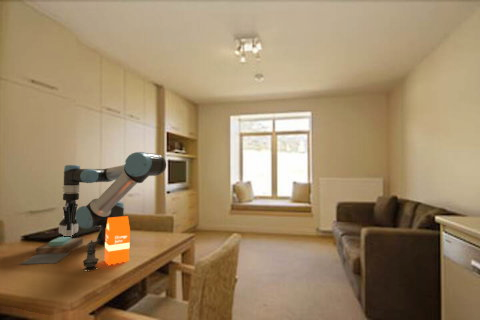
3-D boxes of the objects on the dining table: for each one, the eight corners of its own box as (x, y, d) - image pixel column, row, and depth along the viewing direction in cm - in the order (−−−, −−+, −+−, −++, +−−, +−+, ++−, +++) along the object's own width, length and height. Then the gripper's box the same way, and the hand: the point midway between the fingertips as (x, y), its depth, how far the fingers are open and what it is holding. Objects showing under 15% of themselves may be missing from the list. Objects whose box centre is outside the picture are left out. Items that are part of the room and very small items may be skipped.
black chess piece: (87, 272, 110) (88, 242, 110) (79, 269, 113) (80, 240, 113) (101, 268, 115) (102, 239, 115) (93, 265, 118) (94, 237, 118)
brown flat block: (82, 243, 151) (82, 238, 151) (67, 253, 133) (68, 247, 134) (54, 244, 149) (54, 238, 149) (36, 254, 131) (36, 248, 131)
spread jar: (72, 232, 176) (72, 214, 176) (84, 234, 171) (84, 216, 172) (52, 236, 165) (53, 217, 165) (65, 239, 160) (66, 219, 161)
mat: (70, 253, 134) (70, 252, 134) (56, 263, 120) (56, 262, 120) (38, 254, 131) (38, 253, 131) (20, 264, 117) (20, 263, 117)
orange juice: (104, 260, 125) (105, 216, 125) (124, 257, 130) (126, 214, 131) (108, 265, 118) (109, 219, 119) (129, 261, 124) (130, 217, 124)
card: (71, 240, 146) (71, 236, 146) (62, 245, 136) (62, 241, 136) (58, 240, 145) (59, 237, 145) (49, 246, 135) (49, 241, 135)
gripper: (69, 191, 157) (67, 233, 156) (58, 193, 144) (56, 238, 144) (83, 191, 159) (81, 232, 158) (73, 193, 146) (71, 238, 145)
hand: (69, 235), depth 151 cm, fingers closed
